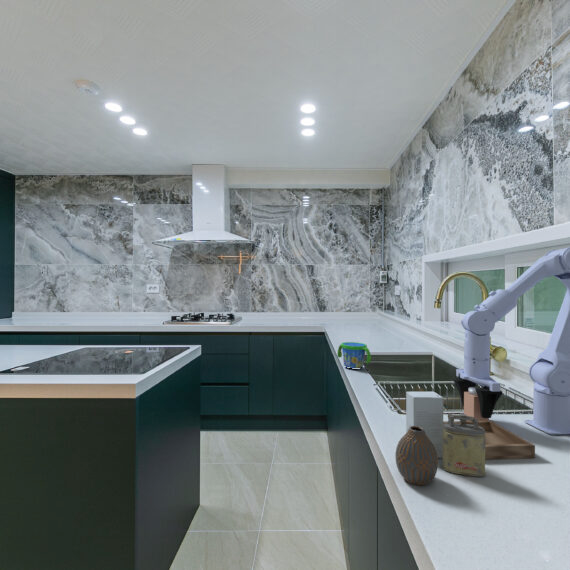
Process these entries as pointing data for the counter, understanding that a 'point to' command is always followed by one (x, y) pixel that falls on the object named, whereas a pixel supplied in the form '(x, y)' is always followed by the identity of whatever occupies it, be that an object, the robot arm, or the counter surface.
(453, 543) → the counter surface
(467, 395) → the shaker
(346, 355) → the snack cup
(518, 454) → the tray
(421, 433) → the vase
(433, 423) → the skincare box
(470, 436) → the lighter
